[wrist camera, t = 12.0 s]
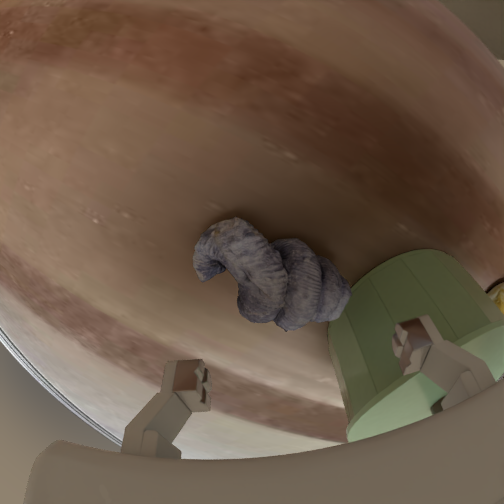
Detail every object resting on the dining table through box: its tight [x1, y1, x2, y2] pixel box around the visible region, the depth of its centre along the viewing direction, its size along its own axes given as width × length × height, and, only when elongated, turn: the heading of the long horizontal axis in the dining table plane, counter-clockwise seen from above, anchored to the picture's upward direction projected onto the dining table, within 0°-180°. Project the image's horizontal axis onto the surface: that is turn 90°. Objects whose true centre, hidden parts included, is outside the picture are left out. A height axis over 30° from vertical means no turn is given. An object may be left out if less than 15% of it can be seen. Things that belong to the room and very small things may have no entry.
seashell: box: [193, 216, 352, 332], centre depth 16 cm, size 5×5×10 cm
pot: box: [327, 249, 504, 423], centre depth 18 cm, size 14×14×8 cm
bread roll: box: [487, 282, 504, 315], centre depth 21 cm, size 8×9×4 cm
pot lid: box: [346, 320, 504, 443], centre depth 13 cm, size 15×15×4 cm
